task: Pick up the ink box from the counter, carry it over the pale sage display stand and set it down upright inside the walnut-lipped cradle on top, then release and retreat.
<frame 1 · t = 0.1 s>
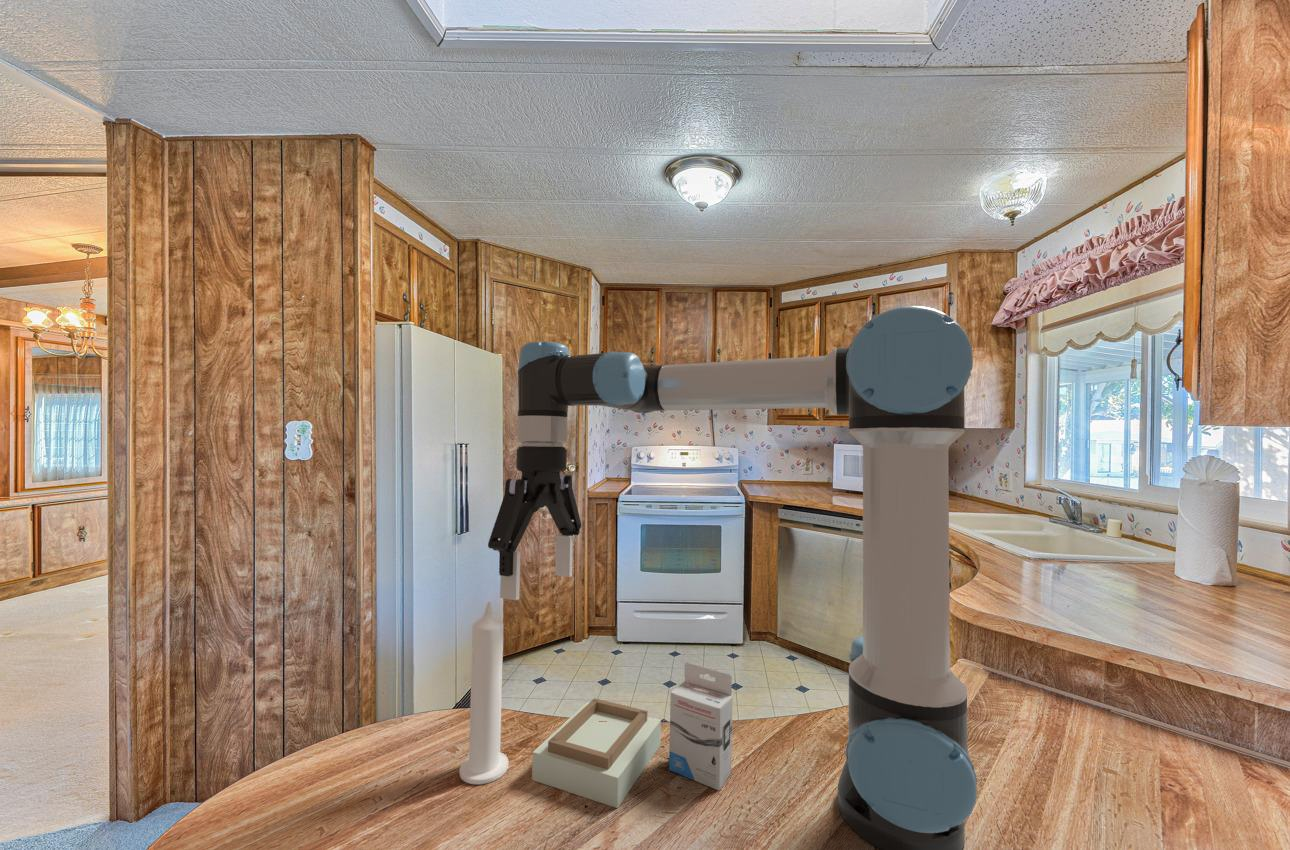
hand: (538, 586, 76), 28 cm above the countertop, fingers open, 13 cm apart
display stand: (600, 761, 79), on the countertop
ink box: (700, 773, 76), on the countertop
candle: (484, 770, 76), on the countertop
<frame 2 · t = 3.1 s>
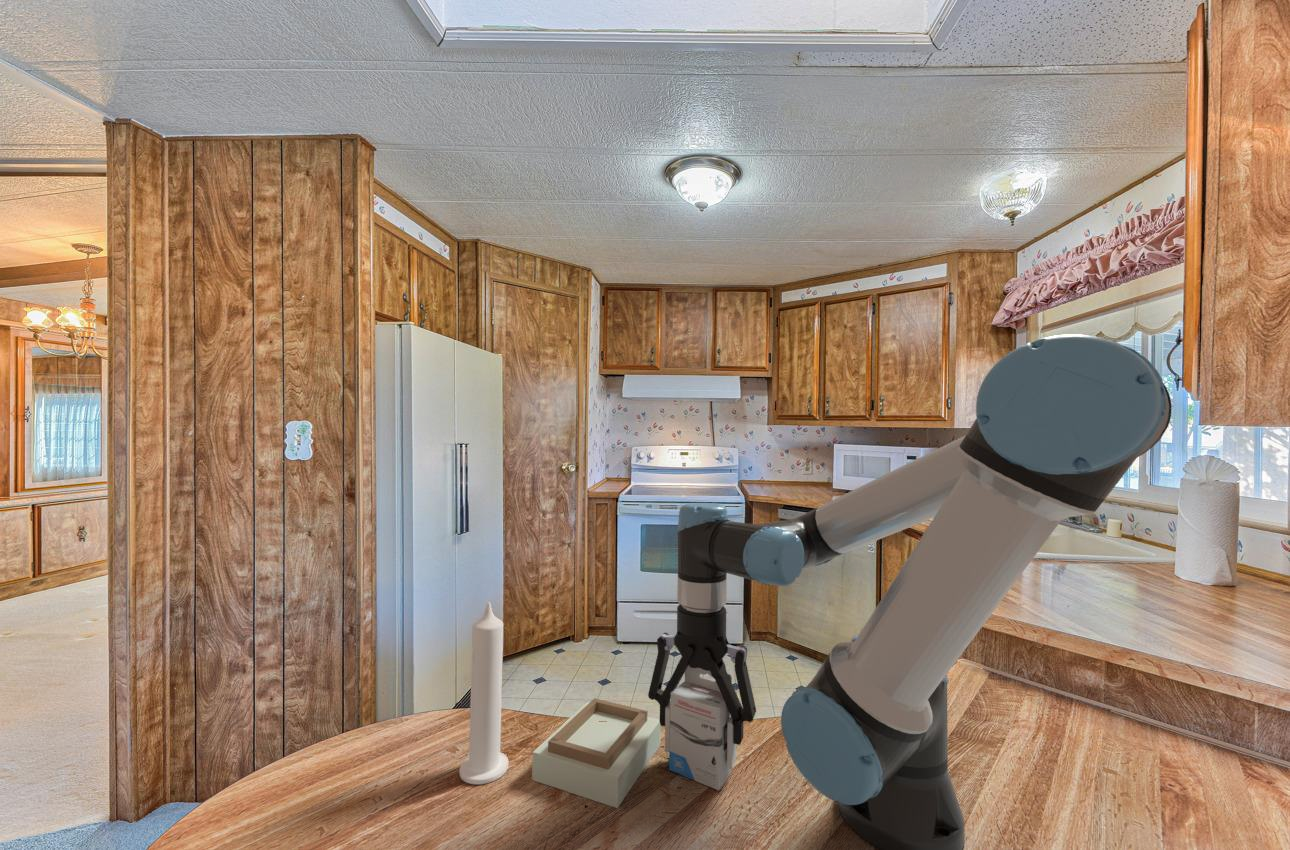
hand: (700, 755, 76), 2 cm above the countertop, fingers closed on ink box, 9 cm apart
ink box: (700, 773, 76), on the countertop, touching gripper
everything else where it was.
when the fingers open (8 cm above the countertop, at t = 8.5 s): ink box stays where it is, resting on display stand.
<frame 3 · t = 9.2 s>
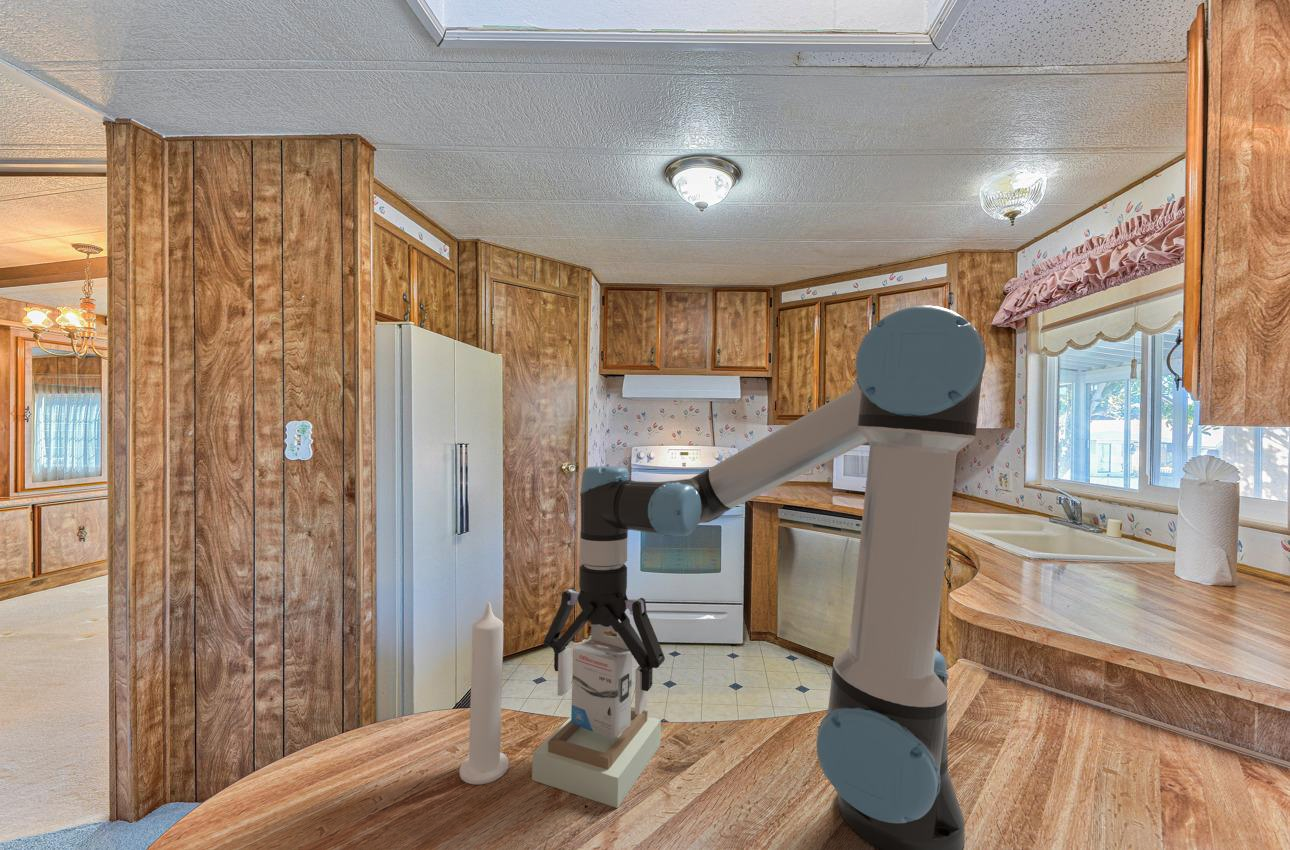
hand: (601, 701, 79), 9 cm above the countertop, fingers open, 13 cm apart
ink box: (600, 726, 79), point 5 cm above the countertop, touching display stand
everything else where it was.
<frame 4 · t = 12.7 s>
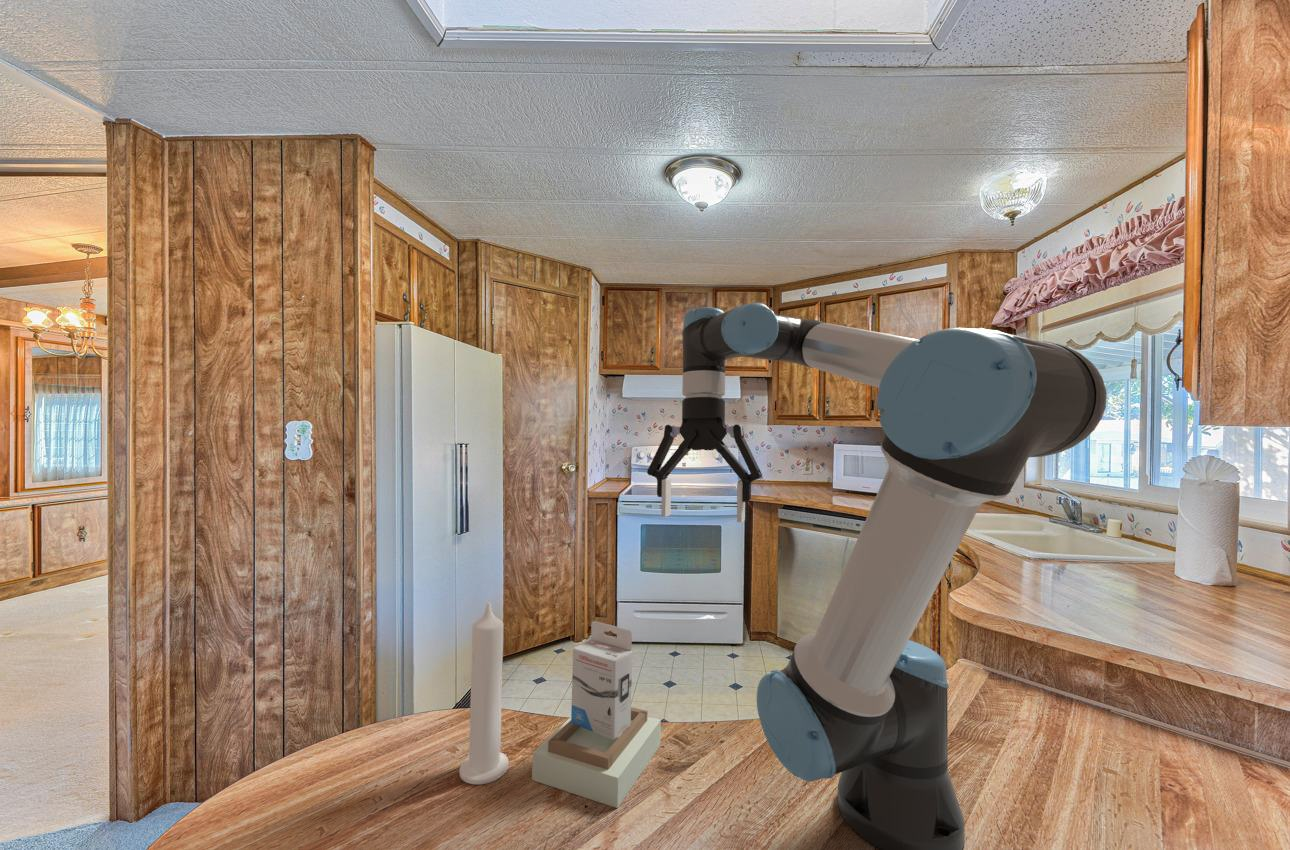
hand: (702, 518, 88), 37 cm above the countertop, fingers open, 13 cm apart
nothing on the countertop moved.
at the end: ink box 0.0 cm off-centre on the display stand, point 5.3 cm above the display stand's base; ink box tilted 0°; the gripper is holding nothing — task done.
